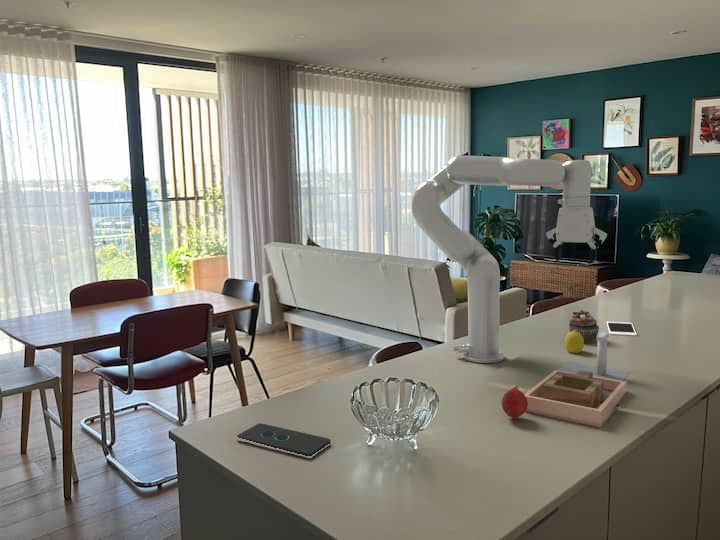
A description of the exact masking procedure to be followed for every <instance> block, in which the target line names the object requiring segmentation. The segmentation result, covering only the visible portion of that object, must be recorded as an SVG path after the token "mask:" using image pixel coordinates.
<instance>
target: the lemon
mask: <svg viewBox="0 0 720 540" xmlns="http://www.w3.org/2000/svg"><path fill="white" fill-rule="evenodd" d="M564 346H565V349H566V351H567V352H569V353H571V354H579V353H581V352H582V350H584V346H585V343H584V340H583V337H582V335H581V334H580V333H579V332H576V330H573V331H572V332H570V331H569V332H568V333H567V334H566V336H565V339H564Z"/></svg>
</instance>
